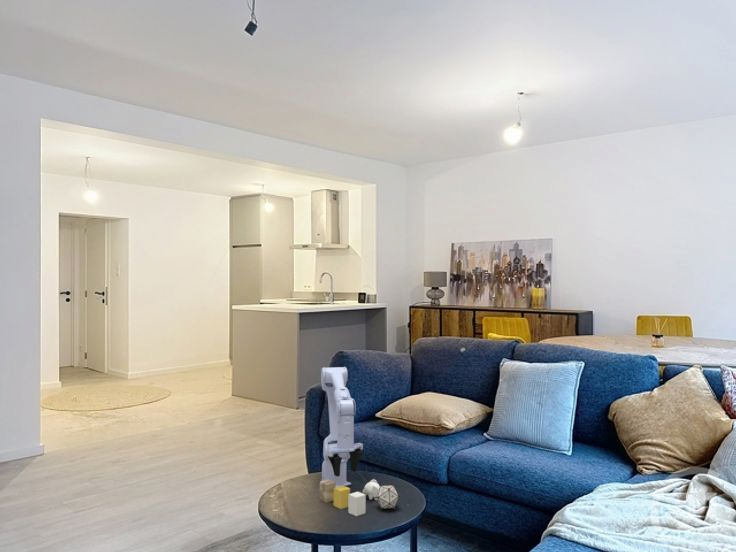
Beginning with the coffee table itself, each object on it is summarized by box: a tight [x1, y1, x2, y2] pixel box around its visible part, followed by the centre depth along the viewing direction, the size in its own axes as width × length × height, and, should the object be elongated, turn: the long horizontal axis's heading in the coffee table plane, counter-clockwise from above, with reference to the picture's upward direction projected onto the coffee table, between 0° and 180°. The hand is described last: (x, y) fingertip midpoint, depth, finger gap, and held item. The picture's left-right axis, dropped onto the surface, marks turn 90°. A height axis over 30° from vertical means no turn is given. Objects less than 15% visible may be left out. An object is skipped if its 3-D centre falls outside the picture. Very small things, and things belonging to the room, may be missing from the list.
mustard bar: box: [333, 485, 351, 510], centre depth 192 cm, size 4×4×6 cm
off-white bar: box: [347, 491, 367, 517], centre depth 186 cm, size 4×4×6 cm
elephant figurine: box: [361, 479, 380, 501], centre depth 199 cm, size 7×8×6 cm
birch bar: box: [319, 480, 336, 503], centre depth 198 cm, size 4×4×6 cm
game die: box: [373, 482, 402, 511], centre depth 190 cm, size 9×8×10 cm
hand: (345, 473), depth 197 cm, fingers open, 7 cm apart
